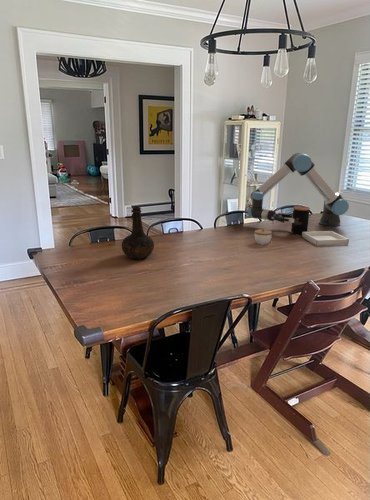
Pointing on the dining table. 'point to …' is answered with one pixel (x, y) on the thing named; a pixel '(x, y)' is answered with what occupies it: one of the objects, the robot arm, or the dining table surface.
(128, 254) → the glass bottle
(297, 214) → the coffee jar
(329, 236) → the tray
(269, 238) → the lidded jar
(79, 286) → the dining table surface
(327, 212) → the robot arm
